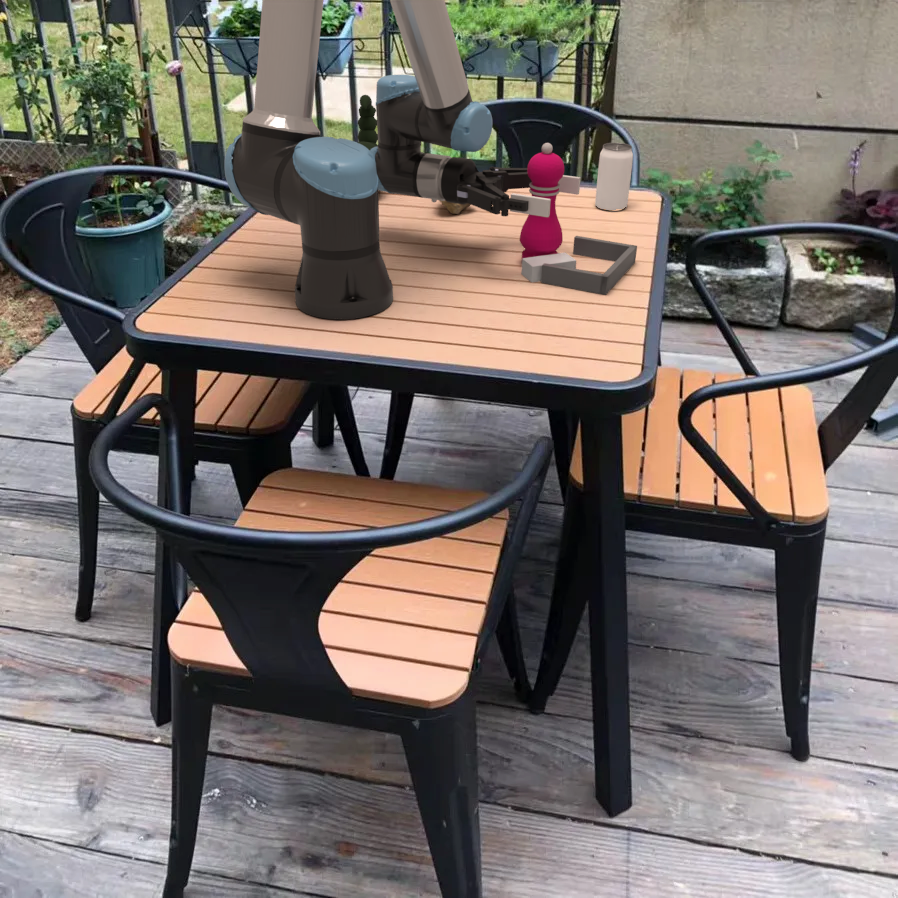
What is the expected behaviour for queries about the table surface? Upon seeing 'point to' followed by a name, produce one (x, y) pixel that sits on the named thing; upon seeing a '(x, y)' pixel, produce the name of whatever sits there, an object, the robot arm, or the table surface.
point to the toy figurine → (367, 123)
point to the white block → (534, 264)
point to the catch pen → (586, 279)
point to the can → (614, 176)
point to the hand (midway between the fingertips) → (564, 196)
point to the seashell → (454, 207)
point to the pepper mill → (546, 231)
